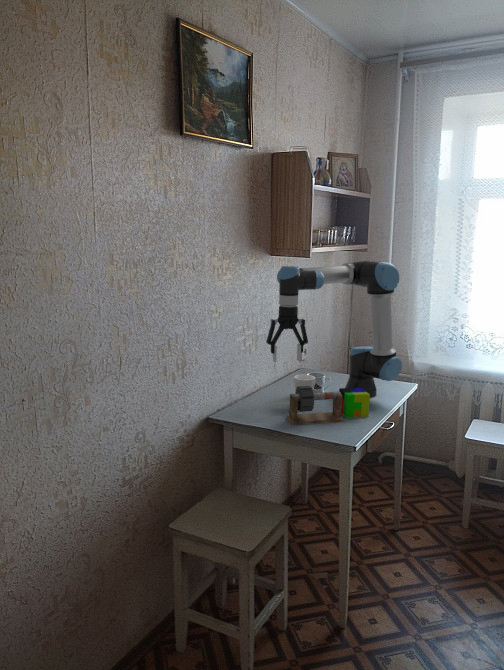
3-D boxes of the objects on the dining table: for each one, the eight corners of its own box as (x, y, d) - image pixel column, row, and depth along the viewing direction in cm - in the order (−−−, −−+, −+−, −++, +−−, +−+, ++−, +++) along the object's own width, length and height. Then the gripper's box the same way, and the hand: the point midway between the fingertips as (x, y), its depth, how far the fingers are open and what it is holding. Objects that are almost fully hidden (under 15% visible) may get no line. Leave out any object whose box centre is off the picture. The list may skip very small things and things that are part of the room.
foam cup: (312, 409, 240) (314, 380, 237) (292, 407, 242) (292, 379, 239) (314, 402, 249) (315, 375, 246) (294, 401, 251) (295, 373, 248)
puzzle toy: (359, 409, 241) (361, 387, 239) (368, 416, 232) (369, 394, 230) (338, 410, 240) (339, 388, 238) (346, 417, 230) (347, 395, 228)
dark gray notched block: (306, 406, 230) (307, 383, 228) (313, 414, 221) (314, 390, 219) (294, 406, 229) (295, 383, 227) (301, 414, 220) (302, 390, 218)
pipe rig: (336, 414, 233) (337, 388, 231) (343, 421, 225) (345, 395, 223) (286, 417, 229) (287, 391, 227) (292, 424, 220) (293, 397, 218)
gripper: (312, 304, 221) (309, 357, 225) (259, 304, 216) (257, 359, 221) (318, 306, 214) (315, 362, 218) (263, 307, 209) (262, 364, 213)
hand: (286, 360), depth 219 cm, fingers open, 9 cm apart
